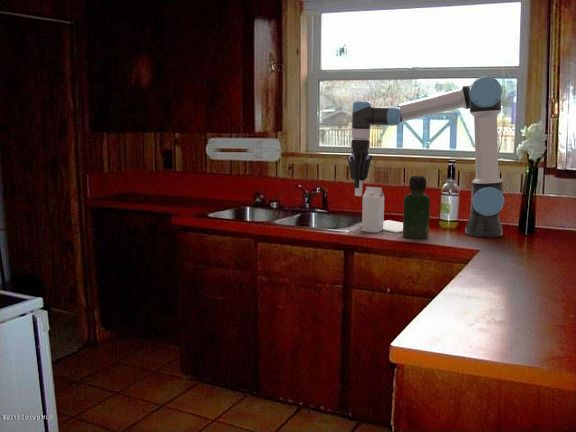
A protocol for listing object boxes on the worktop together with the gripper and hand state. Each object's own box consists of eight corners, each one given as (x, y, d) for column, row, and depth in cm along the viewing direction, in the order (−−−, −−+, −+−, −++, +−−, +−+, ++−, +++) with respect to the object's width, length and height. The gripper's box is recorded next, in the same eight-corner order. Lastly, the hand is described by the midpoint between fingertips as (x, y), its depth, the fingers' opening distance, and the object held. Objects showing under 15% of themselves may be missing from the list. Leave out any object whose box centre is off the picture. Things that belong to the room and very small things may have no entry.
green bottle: (429, 235, 262) (432, 175, 258) (426, 240, 252) (429, 178, 248) (404, 233, 265) (407, 174, 261) (400, 238, 255) (403, 177, 251)
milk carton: (368, 228, 276) (369, 185, 272) (383, 230, 272) (384, 187, 269) (361, 231, 270) (362, 187, 266) (376, 233, 266) (378, 188, 263)
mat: (426, 228, 278) (426, 226, 278) (397, 233, 266) (397, 231, 266) (388, 221, 295) (388, 220, 295) (359, 225, 283) (359, 224, 283)
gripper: (364, 138, 266) (362, 193, 269) (342, 139, 257) (341, 195, 261) (378, 139, 260) (375, 195, 264) (356, 139, 252) (353, 197, 256)
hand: (358, 195), depth 263 cm, fingers closed
